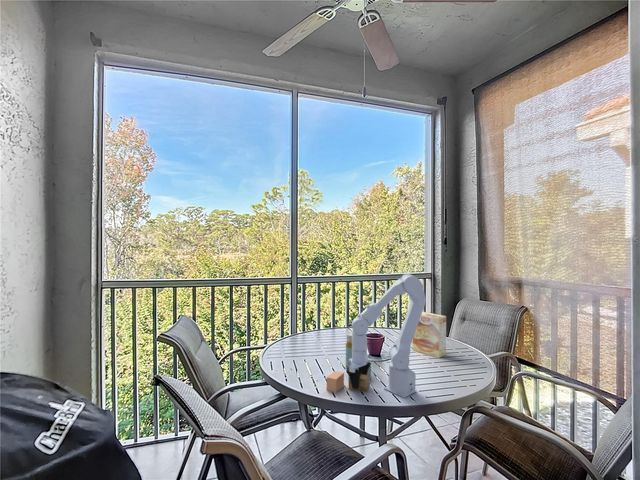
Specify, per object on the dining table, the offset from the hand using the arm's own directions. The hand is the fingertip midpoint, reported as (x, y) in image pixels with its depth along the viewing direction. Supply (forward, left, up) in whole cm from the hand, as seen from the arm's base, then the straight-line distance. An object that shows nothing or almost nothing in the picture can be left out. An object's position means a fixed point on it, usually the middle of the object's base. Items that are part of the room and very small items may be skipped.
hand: (359, 384), depth 130 cm
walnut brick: (0, 0, -2) cm, 2 cm away
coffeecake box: (+4, -58, -2) cm, 58 cm away
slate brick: (+5, -8, -2) cm, 9 cm away
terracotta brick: (+6, +6, -2) cm, 9 cm away
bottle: (+15, -14, -2) cm, 21 cm away
